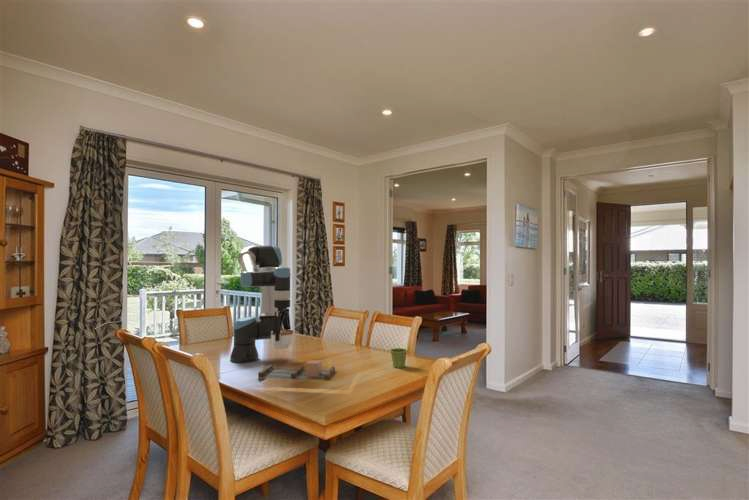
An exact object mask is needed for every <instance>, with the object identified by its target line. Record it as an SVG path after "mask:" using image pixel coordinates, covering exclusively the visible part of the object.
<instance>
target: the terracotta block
mask: <svg viewBox="0 0 749 500" xmlns="http://www.w3.org/2000/svg"><path fill="white" fill-rule="evenodd" d="M305 370H306V376H319V375H320V374H321V370H322V360H316V359H315V360H313V359H309V360H307V362H306V363H305Z"/></svg>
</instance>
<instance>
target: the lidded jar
mask: <svg viewBox="0 0 749 500" xmlns="http://www.w3.org/2000/svg"><path fill="white" fill-rule="evenodd" d="M280 334H281V348H277V350H279V349H281V350H283V349H288V348H289V346H291V344H292V342H293V339H294V330H293V329H284V327H283V328H281V331H280ZM270 340H271V344H272V345H273V347H275V334H273V331H271V339H270Z"/></svg>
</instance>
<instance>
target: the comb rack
mask: <svg viewBox="0 0 749 500" xmlns="http://www.w3.org/2000/svg"><path fill="white" fill-rule="evenodd" d="M304 367H305V365H300V366H298V367H297V368H296V369H294V368H293V369H287V368H274V365H273V364H269V365H267V366H266V367H265V368H263V369H262V370H260V371H259V372H258V373H257V376H258V377H257V378H258V379H257V380H258V381H265V380H266V379H271V378H272V379H293V380H294V379H297V380H321V381H322V380H325V381H326V380H327V381H328V380H329V379H330V378H331V376H332V375H333V374H334V372H335V370H336V367H335V366H331V367H330V368H329V369H328V370H324V369H323V370H322V369H321V374H320V375H319V376H306V369H304Z"/></svg>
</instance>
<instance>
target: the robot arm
mask: <svg viewBox="0 0 749 500" xmlns="http://www.w3.org/2000/svg"><path fill="white" fill-rule="evenodd" d="M237 262H238V265H240V266H241V270H242V271H241V272H240V277H239V278H240V279H239V280H240V286H241V287H244V288H245V287H247V288H251V287H252V288H253V287H261V313H260V315H259V317H258V318H256V316H245V317H240V318H238V319H236V320H235V321H234V322H233V323H234V324H233V348H232V351H231V354H230V359H229V360H230V362H232V363H241V364H242V363H250V362H254V361H258V360H259V352H258V349H257V346H256V341H259V340H261V341H262V340H271V331H273V334H275V346H274V349H278V348H281V334H280V331H281V328H283V329H288V330H292V328H291V320H290V319H291V318H290V309H289V308H290V307H291V300H290V299H291V268H290V267H286V266H285V267H284V266H283V267H281V266H282V264H283V257H282V252H281V248H280V247H279V246H277V245H255V244H253V245H249V246H246V247H245V248H242V250H240V251H239V253H238V255H237Z"/></svg>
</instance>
